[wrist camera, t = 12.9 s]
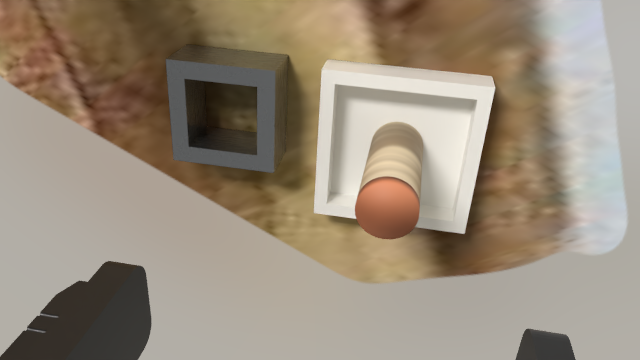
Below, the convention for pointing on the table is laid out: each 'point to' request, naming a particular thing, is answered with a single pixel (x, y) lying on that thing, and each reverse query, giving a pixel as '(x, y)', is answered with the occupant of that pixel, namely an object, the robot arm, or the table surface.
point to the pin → (391, 182)
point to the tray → (408, 107)
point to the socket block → (218, 143)
